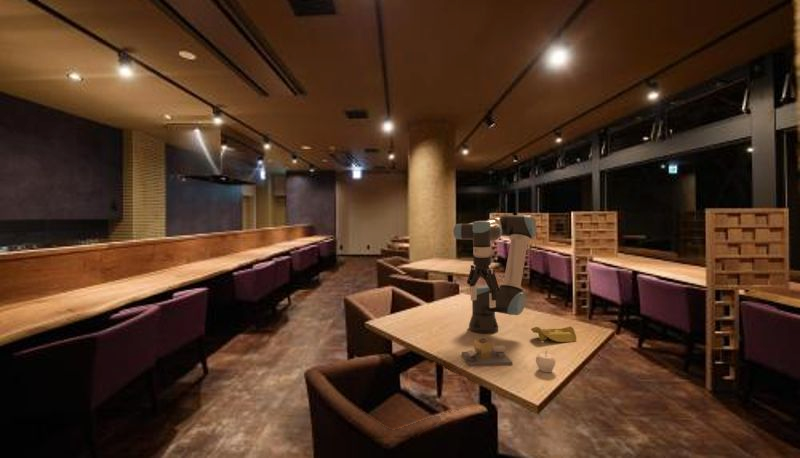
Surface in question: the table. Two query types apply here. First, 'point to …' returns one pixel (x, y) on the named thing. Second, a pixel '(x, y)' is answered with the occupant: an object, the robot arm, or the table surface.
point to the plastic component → (556, 334)
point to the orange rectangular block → (483, 348)
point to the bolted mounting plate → (491, 358)
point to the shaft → (472, 355)
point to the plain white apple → (545, 362)
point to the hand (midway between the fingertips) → (482, 303)
